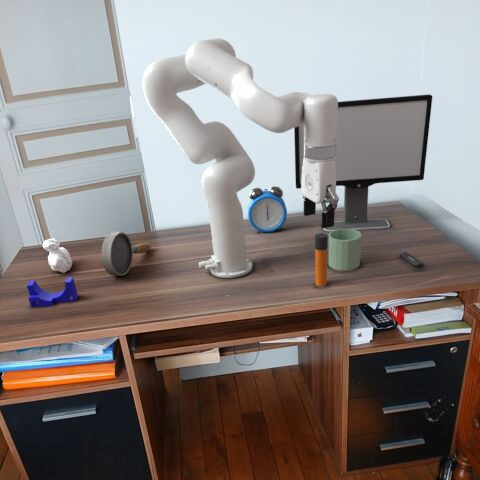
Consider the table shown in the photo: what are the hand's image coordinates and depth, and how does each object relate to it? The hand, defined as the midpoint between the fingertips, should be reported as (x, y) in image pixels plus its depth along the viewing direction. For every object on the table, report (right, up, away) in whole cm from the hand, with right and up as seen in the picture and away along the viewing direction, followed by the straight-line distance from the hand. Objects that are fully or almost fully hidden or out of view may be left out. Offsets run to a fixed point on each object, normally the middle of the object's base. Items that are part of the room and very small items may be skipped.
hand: (318, 220), depth 128 cm
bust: (-77, -9, +33) cm, 84 cm away
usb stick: (+29, -9, +17) cm, 35 cm away
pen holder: (+10, -9, +19) cm, 23 cm away
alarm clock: (-10, +6, +48) cm, 49 cm away
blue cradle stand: (-72, -20, +14) cm, 76 cm away
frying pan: (-54, -8, +31) cm, 63 cm away
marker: (+2, -16, +9) cm, 18 cm away
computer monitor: (+20, +7, +45) cm, 50 cm away
